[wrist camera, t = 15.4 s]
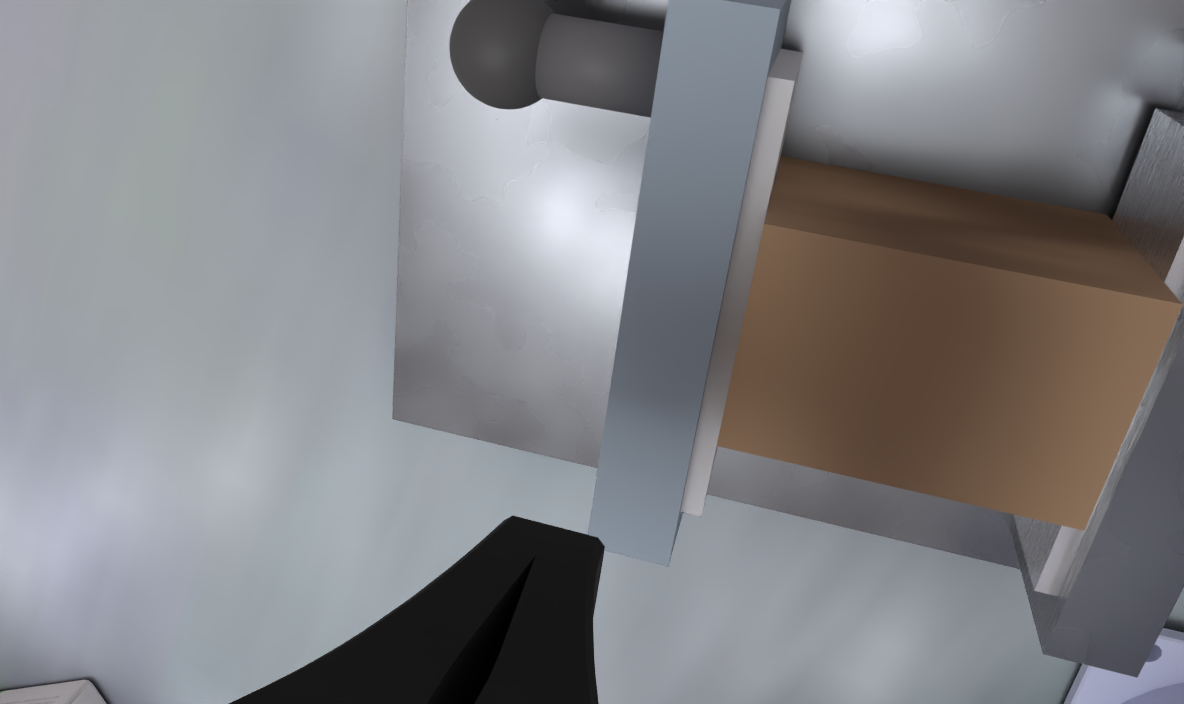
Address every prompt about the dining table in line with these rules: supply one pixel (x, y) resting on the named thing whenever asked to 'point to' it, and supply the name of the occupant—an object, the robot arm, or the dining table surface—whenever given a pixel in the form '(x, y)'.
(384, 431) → the dining table surface
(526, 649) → the robot arm
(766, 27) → the slide jaw
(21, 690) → the ink box
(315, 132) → the dining table surface
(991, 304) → the block
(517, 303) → the vise
